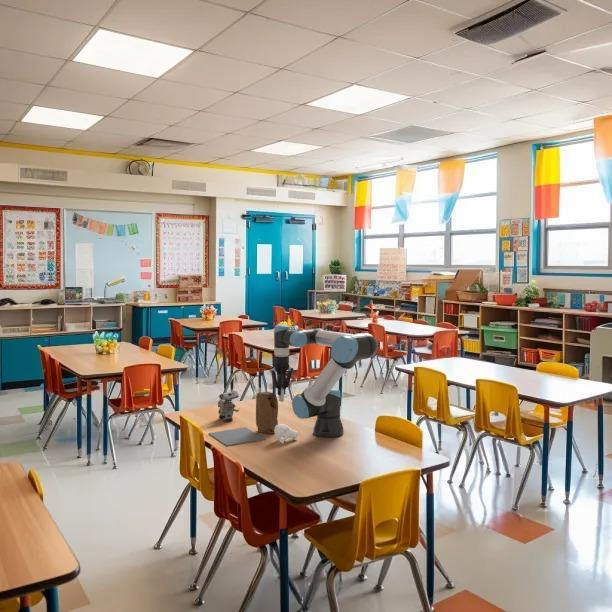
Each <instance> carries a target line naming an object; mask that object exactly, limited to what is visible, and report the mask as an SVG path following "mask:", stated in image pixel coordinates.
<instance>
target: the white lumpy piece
mask: <svg viewBox="0 0 612 612" xmlns="http://www.w3.org/2000/svg"><path fill="white" fill-rule="evenodd" d="M274 432H275V433H274V437H275V439H276V440H277V441H278V442H280V443H281V444H284V443H285V441H286V440H288V439H290V438H291V439H292V440H293V441H296V439H297V438H298V437H299V433H298V432H299V431H297V430H294V429H292V428H291V427H290V426H288V425H286V424H285V423H278V425H276V426H275V429H274ZM282 438H283V439H282Z"/></svg>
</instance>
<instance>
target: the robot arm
mask: <svg viewBox="0 0 612 612" xmlns="http://www.w3.org/2000/svg"><path fill="white" fill-rule="evenodd" d="M273 337H274V339H273V340H274V343H273V345H274V346H273V347H274V349H273V351H274V357H273V362H274V364H273V368H272V369H269V372H270V375H271V379H272V383H273V387H274V388H276V389H277V395H278V402H281V403H282V402H283V403H284V402H285V395H286V389H287V388H289V387H290V382H291V378H292V373H293V371H294V370H295V369H294V368H293V367H291V365H290V356H289V355H290V347H294V348H303V347H305V346H308V345H317V346H322V347H323V346H325V347H329V348H331V349H330V353H331V354H330V356H331V358H330V359H329V361H328V362H327V363H326V365H325V366H324V368H323V369H322V371H321V372H320V373H319V375H318V376H317V377H316V379H315V380H314V381H313V383H312V384H311V385H308V386H307V387H305V388H304V390H303V391H302V393H300V394H296V395H295V396H293V398H292V401H291V407H292V412H293V413H294V415H295V417H297V418H298V419H301V420H304V419H310V418H314V417H316V420H315V422H314V425H313V434H314V435H315V436H317V437H320V438H337V437H340V436H343V435H344V433H345V432H344V425H343V423H342V420H341V398H342V397H341V390H340V389H339V388H336V387H334V386H336V385H337V383H338V382H339V381H340V379H341V377H342V376H343V375H344V374H345V372H346V371H347V370H350V369H352V368H354V366H355V365H356V363H358V362H359V361H361V360H367V359H370V358H372V357H373V356H375V354H376V353H377V351H378V347H379V346H378V341H377V338H375V337H374V335H372V334H371V333H365V332H363V333H361V332H357V333H354V334H353V333H345V332H340V331H339V332H338V331H330V330H325V329H323V328H319V327H318V328H312V329H303V330H291V329H290V326H289V324H276V325H275V326H274V331H273Z"/></svg>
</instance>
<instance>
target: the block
mask: <svg viewBox="0 0 612 612" xmlns="http://www.w3.org/2000/svg"><path fill="white" fill-rule="evenodd" d="M255 397H256V400H255V425H256V428H257V432H258V433H262V434H275V432H274V429H275V426H276V425H278V424H279V422H278V415H279V399H278V398H277V395H276V394H275V393H274V392H271V391H259V392H257V394H256V396H255Z"/></svg>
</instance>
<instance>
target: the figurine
mask: <svg viewBox="0 0 612 612" xmlns="http://www.w3.org/2000/svg"><path fill="white" fill-rule="evenodd" d="M218 398H219V400H218V403H217V408H219V409H218V414H219V416H218V418H219V419H224V422H226V423H228V422H232V421H233V420H234V419H233V416H234V412H236V413H238V412H239V411H240V409H241V408H239V409H235V408H236V407H237V406H236V404H235V403H233V402H232V400H235V399H238V398H239V393H238V391H237V390H230V391H227V392H223V393H220V394H219V396H218ZM223 400H224V401H223Z"/></svg>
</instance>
